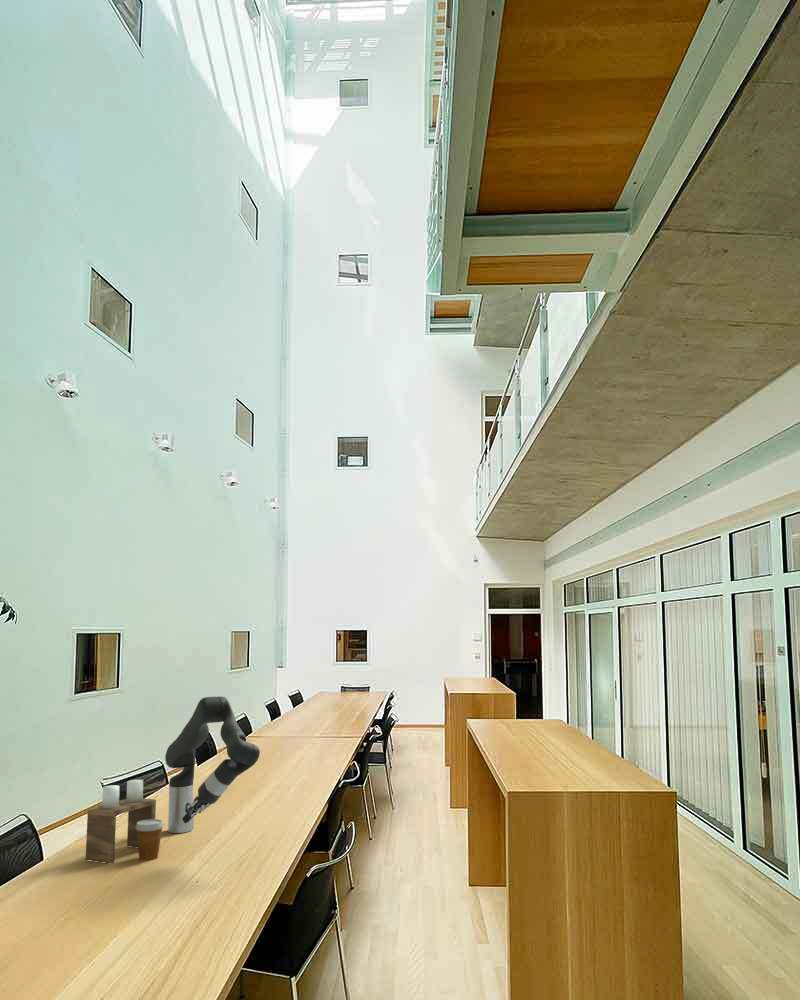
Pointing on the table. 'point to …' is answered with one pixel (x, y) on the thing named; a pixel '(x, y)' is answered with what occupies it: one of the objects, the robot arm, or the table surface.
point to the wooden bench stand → (114, 827)
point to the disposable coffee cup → (149, 838)
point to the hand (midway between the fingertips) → (184, 820)
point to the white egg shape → (134, 791)
